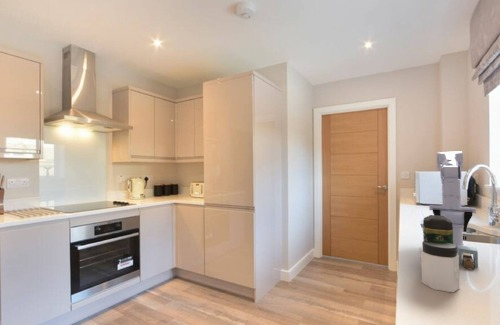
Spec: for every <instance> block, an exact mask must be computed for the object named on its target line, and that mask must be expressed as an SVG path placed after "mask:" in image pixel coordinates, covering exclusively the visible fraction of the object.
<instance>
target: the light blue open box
mask: <svg viewBox="0 0 500 325" xmlns="http://www.w3.org/2000/svg"><path fill="white" fill-rule="evenodd" d="M463 253H468V254H471V255H472V259H473V265H474V268H479V257H478V256H479V255H478V254H479V253H478V249H477V247H474V246H468V245H467V246H466V245H464V246H459V245H458V249H457V255H458V256H459V265H463Z"/></svg>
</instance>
